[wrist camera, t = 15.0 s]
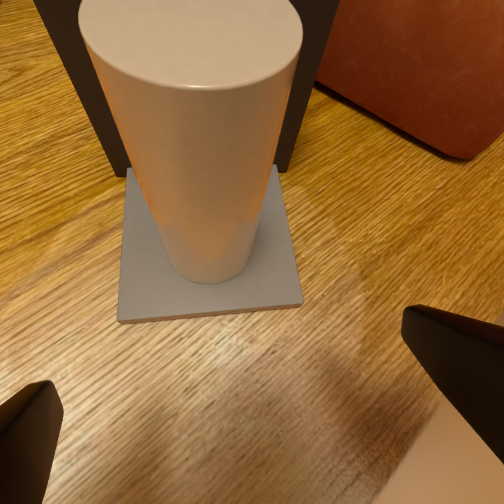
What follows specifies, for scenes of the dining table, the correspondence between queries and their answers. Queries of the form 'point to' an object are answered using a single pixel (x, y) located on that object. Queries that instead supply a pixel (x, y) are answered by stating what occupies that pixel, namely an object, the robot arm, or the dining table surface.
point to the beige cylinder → (197, 114)
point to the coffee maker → (138, 216)
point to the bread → (423, 67)
